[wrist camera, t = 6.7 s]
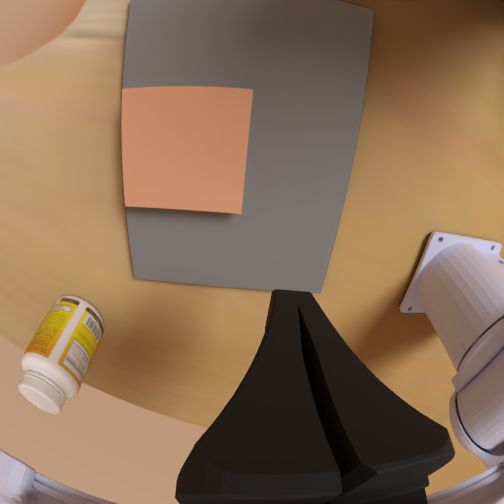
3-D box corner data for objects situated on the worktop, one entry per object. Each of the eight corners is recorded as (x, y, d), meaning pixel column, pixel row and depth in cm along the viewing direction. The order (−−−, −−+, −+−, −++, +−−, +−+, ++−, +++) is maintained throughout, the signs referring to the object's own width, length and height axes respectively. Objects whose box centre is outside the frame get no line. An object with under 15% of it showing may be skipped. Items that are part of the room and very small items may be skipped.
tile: (253, 89, 13) (122, 88, 13) (241, 214, 17) (125, 206, 17) (253, 89, 15) (132, 88, 14) (242, 203, 18) (133, 197, 18)
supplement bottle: (52, 312, 25) (8, 390, 16) (65, 282, 23) (10, 368, 14) (95, 342, 27) (61, 424, 18) (114, 317, 25) (75, 411, 16)
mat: (369, 12, 12) (374, 10, 12) (318, 287, 23) (320, 293, 22) (136, -5, 12) (132, -8, 11) (137, 271, 22) (134, 278, 21)
